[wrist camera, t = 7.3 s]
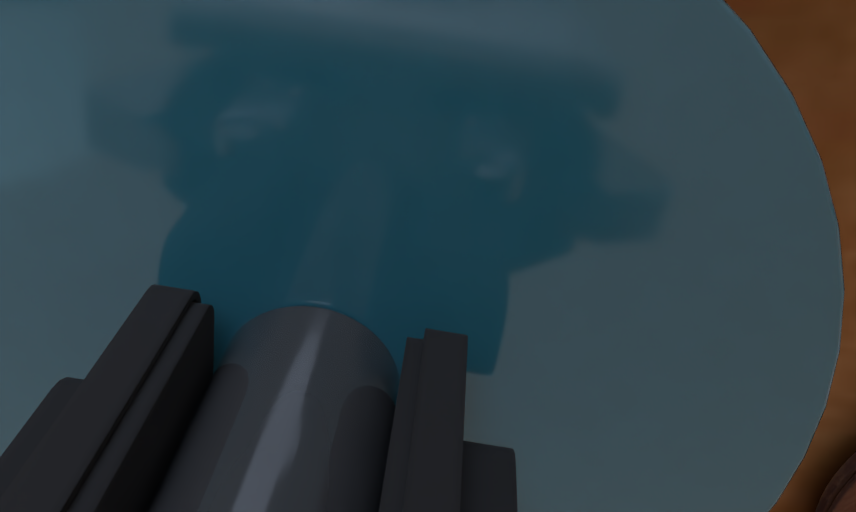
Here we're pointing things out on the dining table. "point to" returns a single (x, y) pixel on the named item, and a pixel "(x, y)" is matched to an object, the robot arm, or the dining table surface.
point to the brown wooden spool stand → (840, 490)
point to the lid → (428, 237)
